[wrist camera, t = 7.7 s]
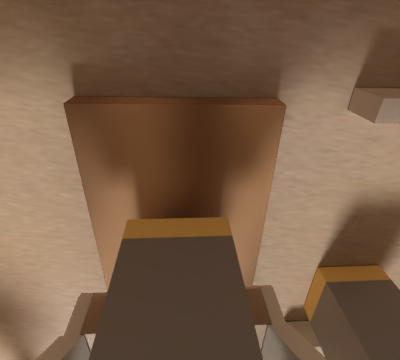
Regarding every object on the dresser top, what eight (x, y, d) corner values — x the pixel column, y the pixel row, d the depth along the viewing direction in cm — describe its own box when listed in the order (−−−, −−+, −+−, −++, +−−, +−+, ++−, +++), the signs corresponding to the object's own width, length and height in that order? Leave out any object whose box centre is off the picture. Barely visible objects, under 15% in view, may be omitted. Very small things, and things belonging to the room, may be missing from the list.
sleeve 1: (227, 217, 12) (265, 367, 7) (221, 283, 14) (246, 434, 9) (127, 219, 11) (83, 378, 6) (137, 286, 14) (111, 445, 8)
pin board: (277, 98, 12) (341, 147, 7) (236, 341, 22) (251, 429, 17) (73, 96, 11) (-5, 148, 7) (127, 347, 22) (111, 439, 17)
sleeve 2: (379, 265, 18) (456, 359, 13) (358, 304, 21) (417, 398, 15) (317, 267, 18) (372, 364, 13) (303, 307, 20) (345, 403, 15)
